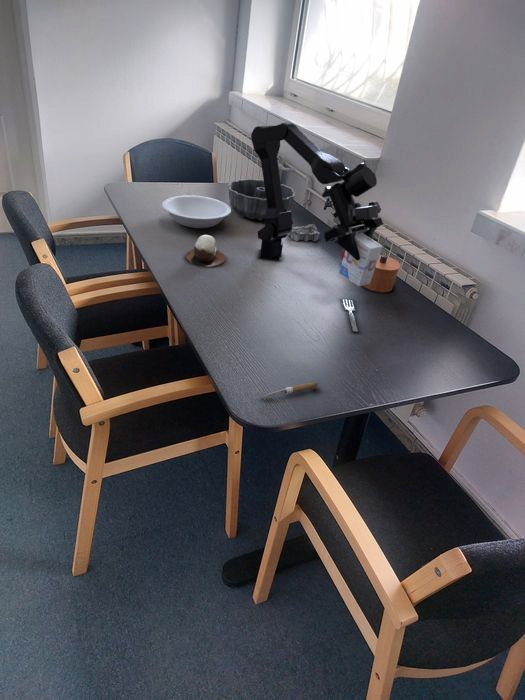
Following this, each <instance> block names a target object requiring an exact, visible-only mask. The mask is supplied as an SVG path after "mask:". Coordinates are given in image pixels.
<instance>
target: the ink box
mask: <svg viewBox="0 0 525 700" xmlns="http://www.w3.org/2000/svg"><path fill="white" fill-rule="evenodd" d="M355 242H356V245H357V248H358V251H359V255H360V260H358V261H357V260H356V259H355V258H354V257H352V256H351V255H350V254H349V253H348V252H347V251H345V255H344V258H343V261H342V260H341V265H340V269H339V271H338V272H339V274H341V275H342V276H343V277H345V278H346V279H348V280H349V281H350V282H352V283H353V284H355V285H356V286H357V287H364V286H363V285H367V284H370V281H371V279H372V276H373V273H374V270H375V267H376V264H377V262H378V259H379V256H380V255H381V253H382V250H383V245H382V244H381V243H379V242H377V241H376V240H374V239H373V238H372V239H371V238H370V237H368V236H367V235H365V234H363V233H359V234H358V233H356V235H355Z"/></svg>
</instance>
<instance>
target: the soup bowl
mask: <svg viewBox="0 0 525 700" xmlns="http://www.w3.org/2000/svg"><path fill="white" fill-rule="evenodd" d="M161 206H162V208H163V210H164V211H166V212H167V213H168V214H169V216H170V217H171V219H172V220H174V221H175V222H176V223H178V224H180V225H182V226H185V227H188V228H192V229H208V228H212V227H214V226H216V225H218V224H220V223H221V222H222V221H223V220H224V219H225V217H228V216H229V215H230V214H231V212H232V209H231V208H232V207H231V206H230V205H228V204H227V203H226V202H224V201H222V200H220V199H216V198H213V197H209V196H203V195H194V194H193V195H191V194H189V195H188V194H187V195H176V196H175V195H174V196H171V197H168V198H166V199H164V200H163V201H162V204H161Z"/></svg>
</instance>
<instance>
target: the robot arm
mask: <svg viewBox="0 0 525 700" xmlns="http://www.w3.org/2000/svg"><path fill="white" fill-rule="evenodd" d="M250 135H251V136H250V139H251V143H252V147H253V151H254V152H255V154H256V155H257V157H258V158H259V159H260V164H261V171H262V180H264V186H265V193H266V199H267V206H268V210H267V213H266V216H265V220H264V226H263V227H261V228H260V229H259V230H257V238H258V239H259V240H261V245H260V250H259V259H263V260H269V261H270V260H271V261H280V258H281V257H282V254H283V247H284V242H283V239H286V238H287V236H288V234H289V233H290V231H291V230H292V228H293V225H294V221H293V213H292V211H291V210H289V211H287V210H286V209H285V207H284V205H283V198H282V191H281V184H282V183H281V177H280V169H279V162H278V154H279V151H280V148H281V141H285V142H286V143H287V144H288V145H289V146H290V147H291V148H292V149H293V150H294V151H295V152H296V153H297V154H298V155H299V156H300V157H301V158H302V159H303V160H304V161H305V162H306V163H307V164H308V165H309V166H310V169H311V172H312V174H313V176H314V177H315V179H316V180H317V181H318V182H319V183H320V184H321V185H329V184H333V183H335V184H333V185H331V186H325V187H324V190H323V192H322V195H321V197H322V198H327V197H329V199H330V202H331V203H332V206H333V209H334V211H335V212H334V213H332V215H333V217H334V218H337V219H338V222H339V224H335V225H333V226H332V227H330V228H329V229H327V230H326V231H324V234H323V238H324V241H325V243H326V244H327V243H331V242H334V244H336V245H338V246H339V247H341V248H342V249H345V250H346V251H347V252H348V253H349V254H350V255H351V256H352V257H354V258H355V259H356V260H357V261H358V260H360V255H359V251H358V248H357V245H356V242H355V235H356V234H359V233H363V234H365V235H367V236H368V237H370V238H371V239H373V235H374V234H375V231H376V230H377V229H378V228H379V227H380V226H383V225H384V222H383V220H382V217H380V216H379V214H380V213H381V211H382V208H381V205H380V203H379V201H370V202H368V205H367V206H362V205H361V203H360V202H356V200H355V199H354V197H356V198H359V197H360V196H361V195H363V194H365V193H366V192H369V191H370V190H372V189H373V188H375V187H376V186H377V183H378V180H377V179H378V178H377V177H376V173H375V172H373V170H372V169H371V168H370V167H368V166H367V164H366V163H365V162H362V163H359V164H358V165H356V166H355V167H354V168H353V169H352V170H351V169H350V168H348V167H346V166H345V164H344V163H343V162H342V160H339V159H338V158H336V157H335V156H333V155H331V154H328V153H326V152H324V151H323V150H321V149H320V148H319V147H318V146H317V145H316V144H315V143H314V142H313V141H312V140H311V139H310V138H309V137H308V136H306V134H305V133H303V132H302V131H301V130H300V129H299V128H298V126H297V124H296V123H294V122H291V121H290V122H281V123H280V124H276V125H273V124H272V125H271V124H270V125H257V126H255V127H254V128H253V129H252V131H251V134H250ZM336 238H337V240H335V239H336Z"/></svg>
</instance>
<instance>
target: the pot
mask: <svg viewBox="0 0 525 700" xmlns="http://www.w3.org/2000/svg"><path fill="white" fill-rule="evenodd" d="M398 272H399V270H396V271H383V270H379V269H375V270H374V273H373V276H372V279H371V281H370V284H367V285H363V286H362V287H364V288H366V289H367V290H370V291H372V292H377V293H388V292H391V291H392V290H393V288H394V286H395V282H396V279H397V276H398Z"/></svg>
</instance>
